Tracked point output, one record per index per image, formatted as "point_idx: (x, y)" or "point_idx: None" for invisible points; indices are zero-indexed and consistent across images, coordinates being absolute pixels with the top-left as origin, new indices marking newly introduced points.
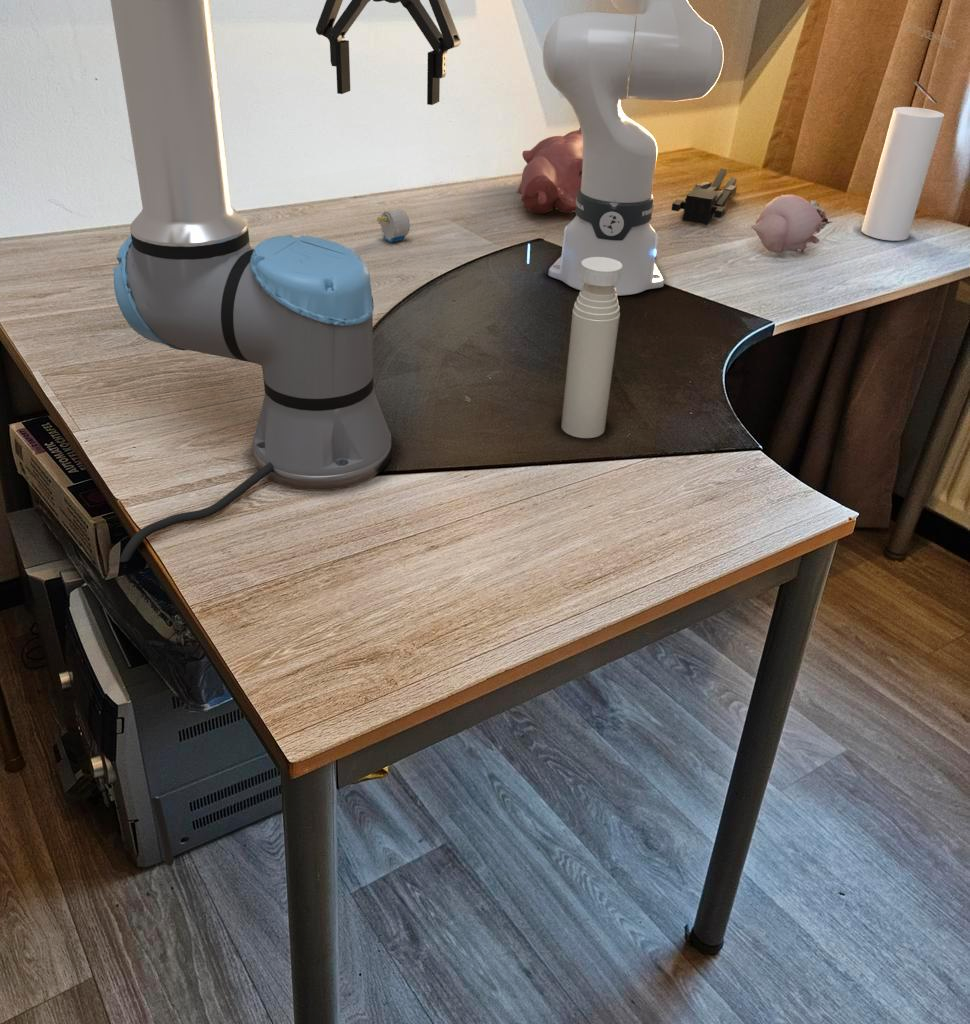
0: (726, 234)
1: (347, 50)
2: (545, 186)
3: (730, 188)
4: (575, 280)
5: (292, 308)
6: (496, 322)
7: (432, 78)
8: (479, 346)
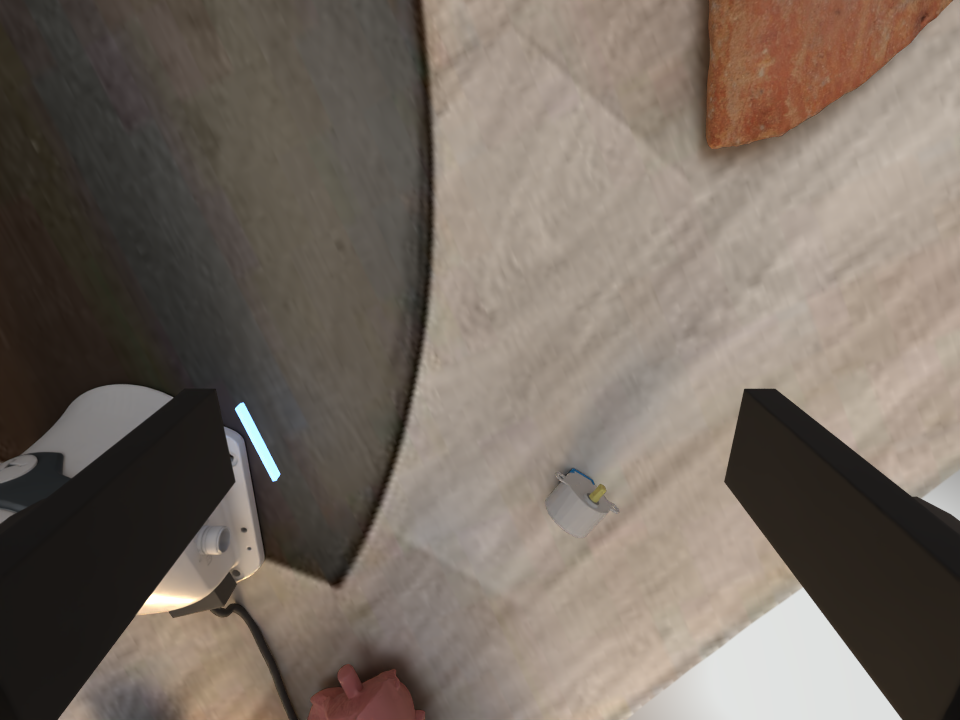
0: (83, 708)
1: (877, 651)
2: (343, 707)
3: None
4: (162, 405)
5: None
6: (214, 175)
7: (85, 467)
8: (180, 30)
